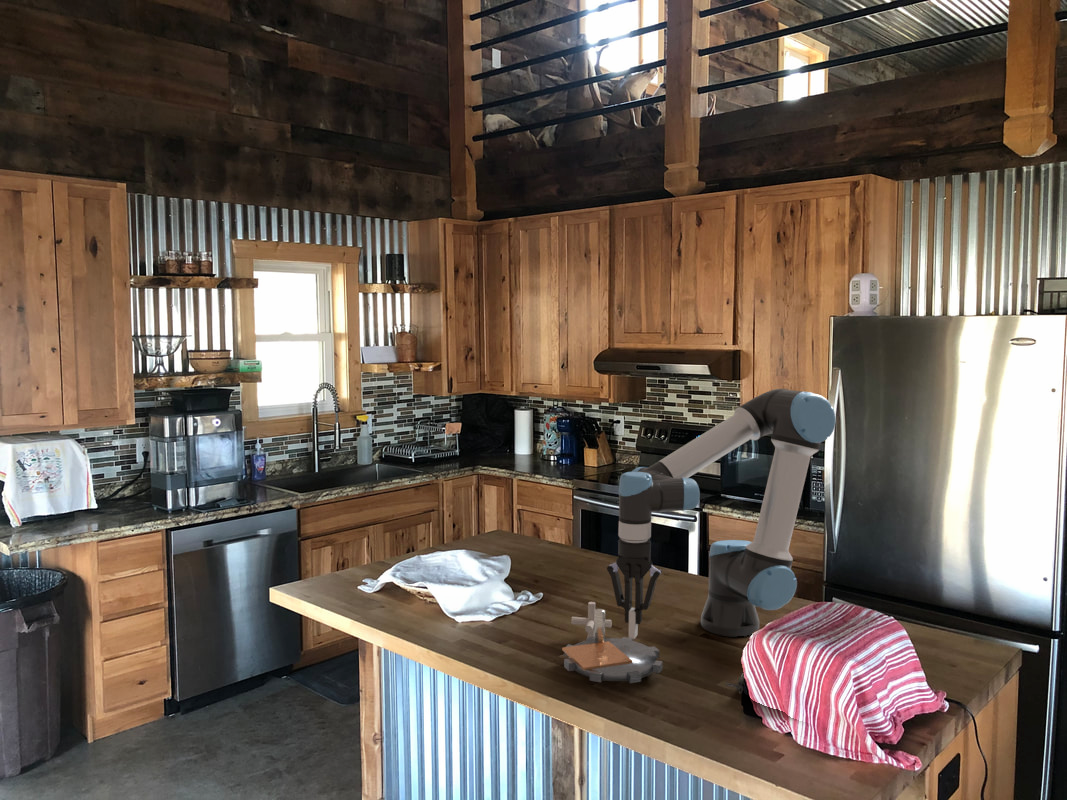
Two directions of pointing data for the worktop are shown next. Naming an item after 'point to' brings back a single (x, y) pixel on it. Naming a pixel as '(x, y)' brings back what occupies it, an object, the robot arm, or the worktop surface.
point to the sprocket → (611, 656)
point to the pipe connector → (589, 620)
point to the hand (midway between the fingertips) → (633, 636)
